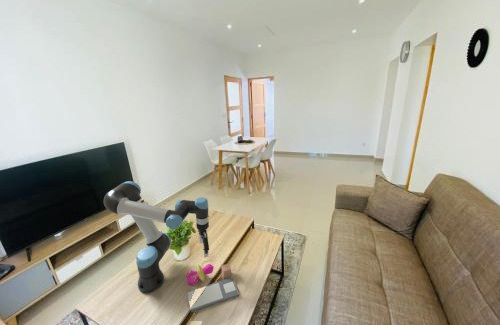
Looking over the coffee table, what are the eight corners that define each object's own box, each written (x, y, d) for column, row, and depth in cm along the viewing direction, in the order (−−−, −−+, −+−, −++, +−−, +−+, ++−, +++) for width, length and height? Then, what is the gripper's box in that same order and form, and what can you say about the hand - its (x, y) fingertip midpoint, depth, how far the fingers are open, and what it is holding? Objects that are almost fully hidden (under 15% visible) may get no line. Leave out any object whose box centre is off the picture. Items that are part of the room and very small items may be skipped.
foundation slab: (190, 313, 117) (189, 311, 117) (187, 293, 128) (187, 291, 128) (238, 296, 127) (238, 294, 127) (232, 278, 139) (232, 277, 138)
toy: (187, 274, 142) (182, 270, 134) (212, 261, 146) (209, 256, 139) (191, 290, 136) (186, 286, 128) (217, 276, 140) (214, 271, 132)
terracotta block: (223, 279, 138) (223, 271, 136) (221, 273, 142) (221, 265, 140) (231, 277, 140) (230, 269, 137) (228, 271, 144) (228, 263, 142)
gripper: (213, 232, 122) (214, 261, 129) (203, 210, 143) (205, 236, 150) (200, 235, 119) (202, 265, 126) (192, 212, 140) (194, 238, 147)
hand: (203, 249), depth 138 cm, fingers open, 13 cm apart
